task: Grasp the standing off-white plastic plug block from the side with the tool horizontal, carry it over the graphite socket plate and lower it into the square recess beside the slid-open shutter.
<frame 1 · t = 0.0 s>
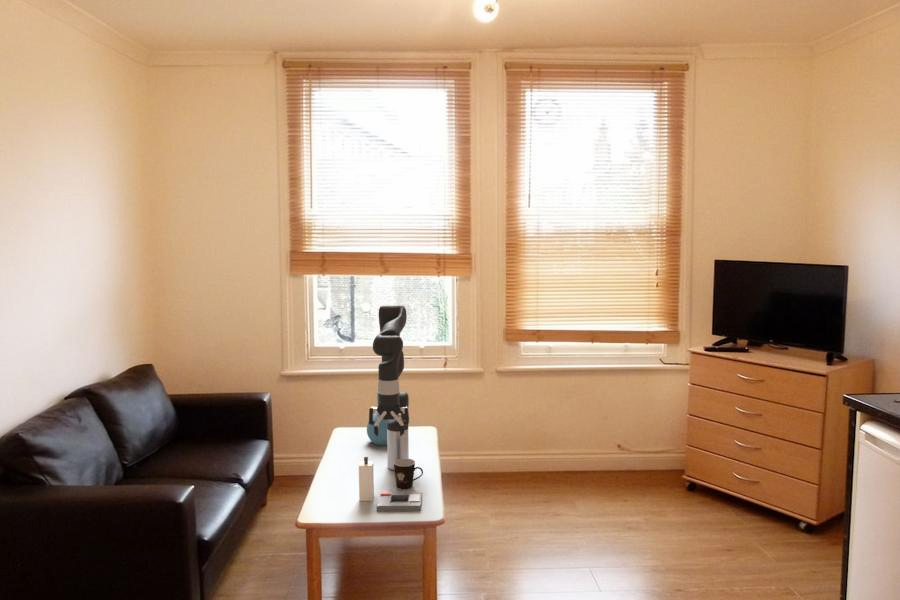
hand: (389, 435, 219), 29 cm above the table, tool pointing down, fingers open, 8 cm apart
socket: (399, 503, 230), on the table
vase: (384, 442, 299), on the table
coffee mug: (407, 487, 245), on the table
plug: (366, 498, 235), on the table
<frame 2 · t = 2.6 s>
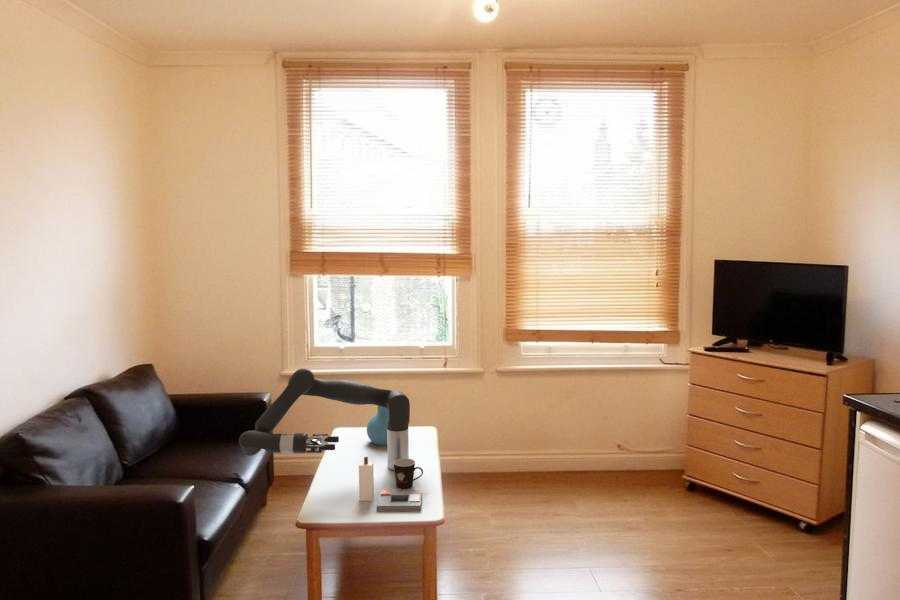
hand: (336, 443, 232), 22 cm above the table, tool horizontal, fingers open, 8 cm apart
nothing on the table moved.
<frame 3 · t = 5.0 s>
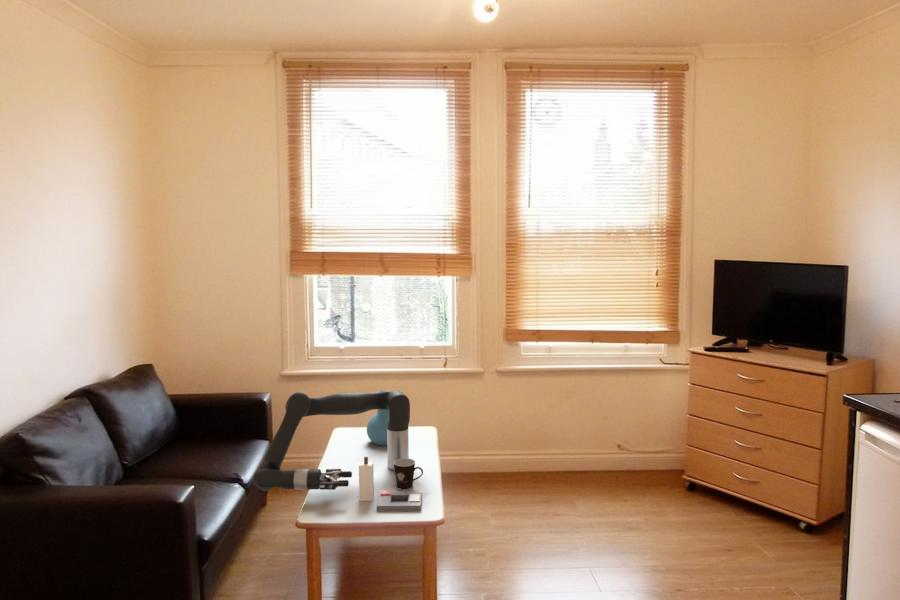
hand: (350, 478, 234), 8 cm above the table, tool horizontal, fingers open, 8 cm apart
nothing on the table moved.
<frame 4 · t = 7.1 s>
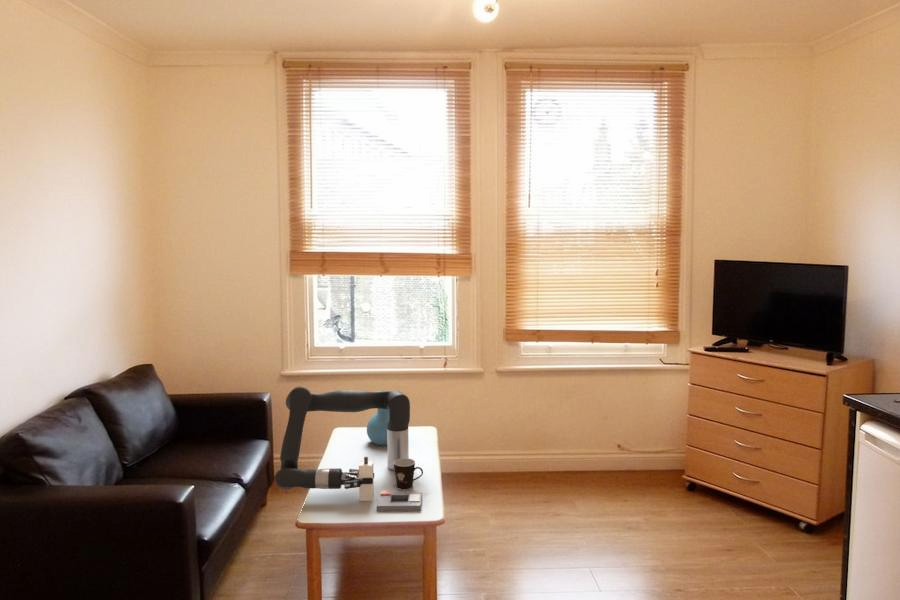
hand: (373, 478, 234), 8 cm above the table, tool horizontal, fingers closed on plug, 4 cm apart
plug: (366, 498, 235), on the table, touching gripper
everything else where it was.
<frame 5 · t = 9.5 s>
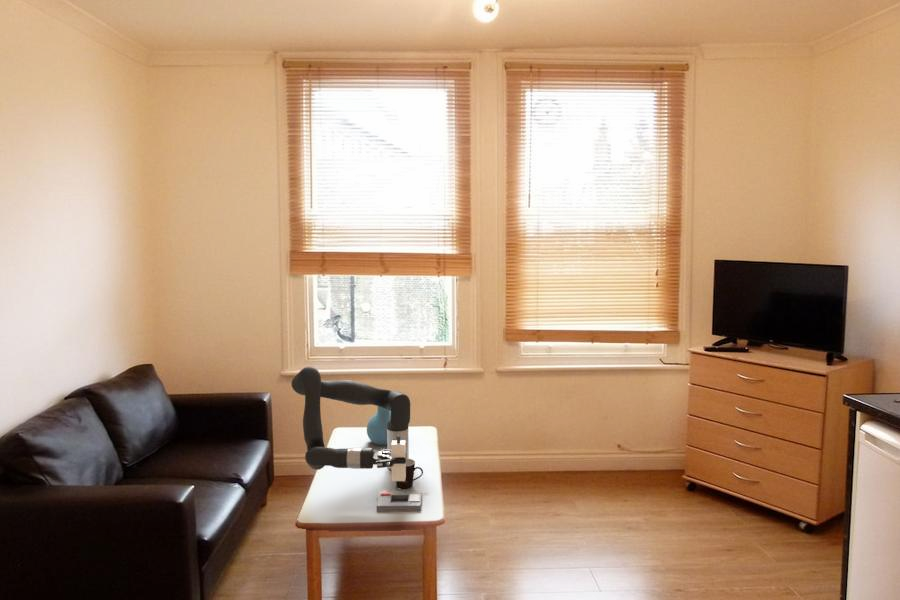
hand: (405, 458, 228), 18 cm above the table, tool horizontal, fingers closed on plug, 4 cm apart
plug: (398, 478, 229), point 10 cm above the table, touching gripper
everything else where it was.
when the fingers open (9 cm above the table, at t = 11.9 s): plug drops 1 cm, resting on socket.
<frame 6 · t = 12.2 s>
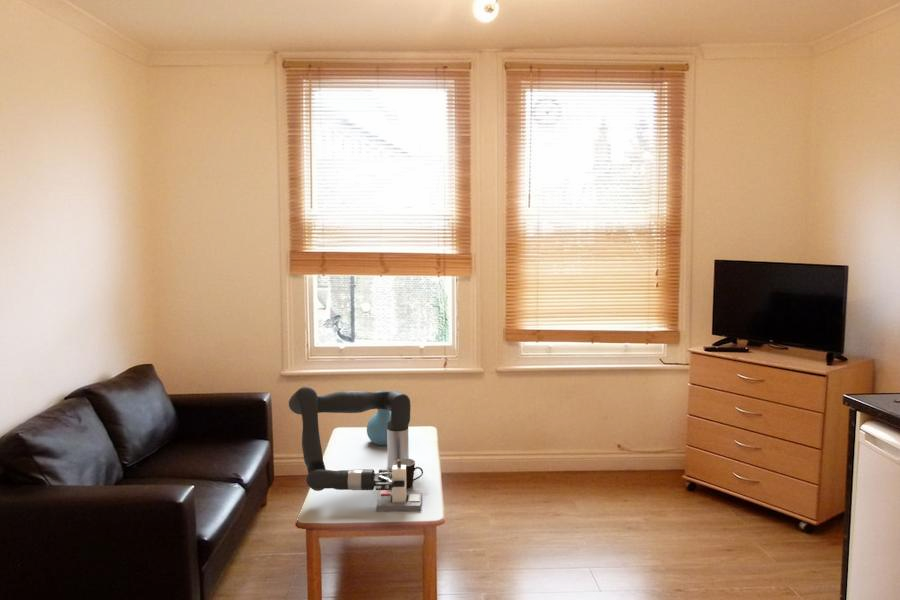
hand: (404, 479, 229), 10 cm above the table, tool horizontal, fingers open, 7 cm apart
plug: (399, 503, 230), resting on socket
everything else where it was.
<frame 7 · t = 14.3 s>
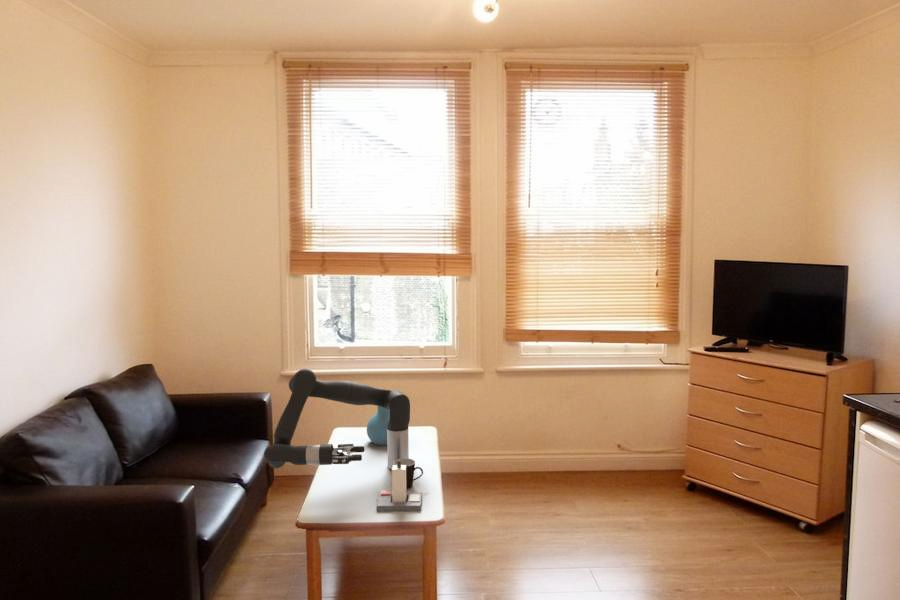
hand: (363, 453, 230), 19 cm above the table, tool horizontal, fingers open, 8 cm apart
nothing on the table moved.
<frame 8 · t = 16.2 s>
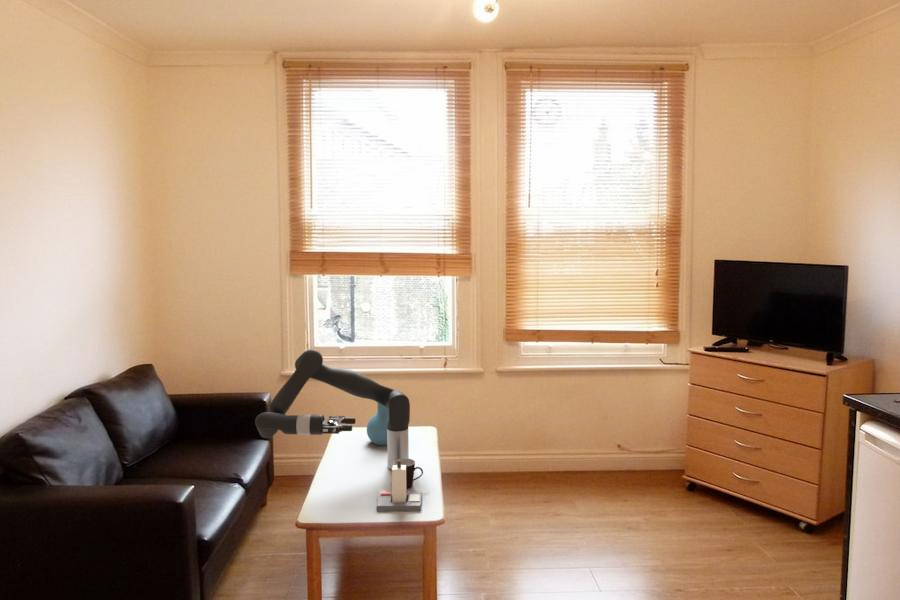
hand: (353, 424, 230), 30 cm above the table, tool horizontal, fingers open, 8 cm apart
nothing on the table moved.
at the end: plug 0.0 cm off-centre on the socket, point 0.3 cm above the socket's base; plug tilted 0°; the gripper is holding nothing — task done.
